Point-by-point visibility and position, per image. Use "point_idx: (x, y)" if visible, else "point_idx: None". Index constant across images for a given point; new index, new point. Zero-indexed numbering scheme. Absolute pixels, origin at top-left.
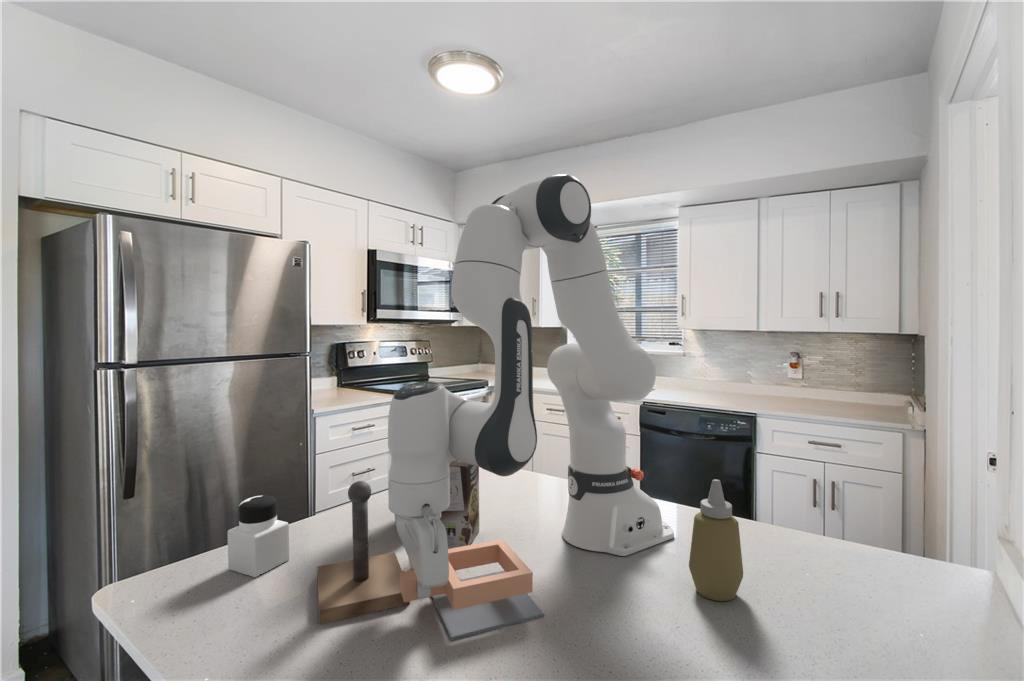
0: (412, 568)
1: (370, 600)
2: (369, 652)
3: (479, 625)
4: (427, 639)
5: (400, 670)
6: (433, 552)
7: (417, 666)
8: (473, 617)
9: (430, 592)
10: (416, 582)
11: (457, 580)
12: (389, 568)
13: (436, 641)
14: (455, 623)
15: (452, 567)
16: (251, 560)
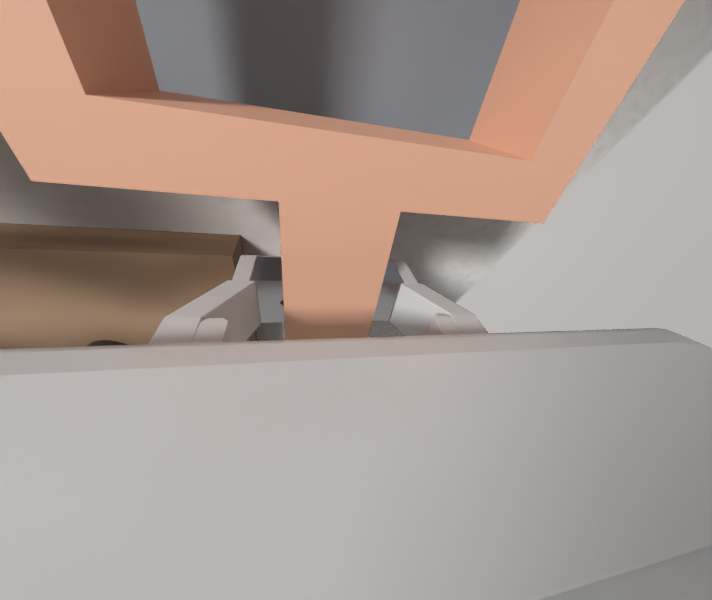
0: (258, 320)
1: (249, 340)
2: (383, 327)
3: (489, 63)
4: (417, 235)
5: (458, 295)
6: (400, 350)
7: (472, 271)
8: (437, 58)
9: (407, 265)
10: (373, 320)
11: (508, 176)
12: (23, 285)
13: (437, 218)
14: None
15: (356, 136)
16: None
